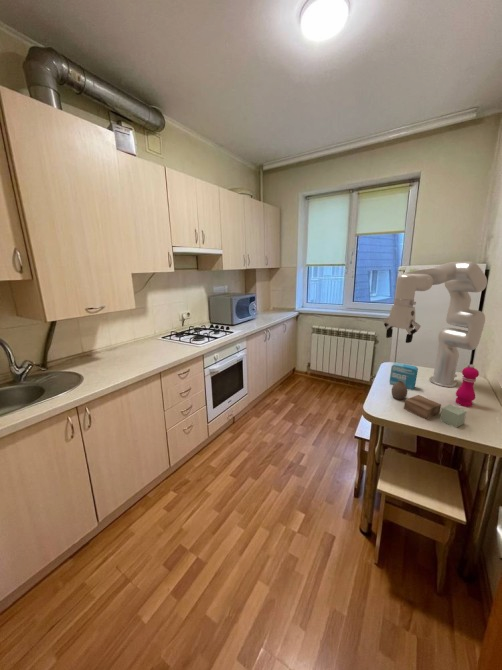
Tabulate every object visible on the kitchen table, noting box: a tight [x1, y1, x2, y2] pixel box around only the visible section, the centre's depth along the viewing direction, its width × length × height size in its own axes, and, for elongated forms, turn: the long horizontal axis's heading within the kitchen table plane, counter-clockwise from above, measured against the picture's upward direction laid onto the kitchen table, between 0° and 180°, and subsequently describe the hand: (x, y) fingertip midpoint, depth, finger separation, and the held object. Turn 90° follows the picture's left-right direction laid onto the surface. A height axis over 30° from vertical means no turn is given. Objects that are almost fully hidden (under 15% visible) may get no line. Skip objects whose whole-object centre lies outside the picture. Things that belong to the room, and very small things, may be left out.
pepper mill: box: [455, 363, 480, 408], centre depth 123 cm, size 7×7×20 cm
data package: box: [389, 362, 419, 390], centre depth 144 cm, size 12×4×12 cm, turn 52°
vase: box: [391, 381, 408, 400], centre depth 131 cm, size 7×7×9 cm
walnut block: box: [403, 394, 442, 420], centre depth 119 cm, size 10×10×5 cm
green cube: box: [439, 404, 467, 428], centre depth 111 cm, size 6×6×6 cm
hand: (398, 339), depth 121 cm, fingers open, 9 cm apart
